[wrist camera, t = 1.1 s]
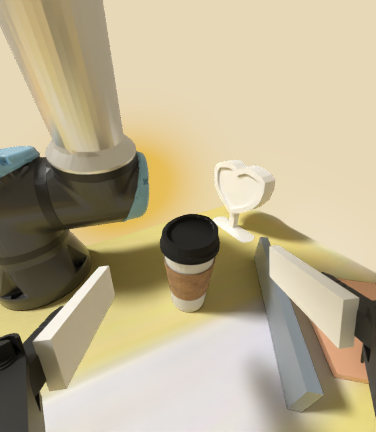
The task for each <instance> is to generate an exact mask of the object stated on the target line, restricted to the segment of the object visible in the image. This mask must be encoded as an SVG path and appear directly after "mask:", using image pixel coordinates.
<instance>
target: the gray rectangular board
mask: <svg viewBox="0 0 376 432" xmlns="http://www.w3.org/2000/svg"><path fill="white" fill-rule="evenodd" d="M269 246H271V245H270V243H269V240H268V238H266V237H260V239H259V243H258V246H257V250H256V253H255V257H254V259H255V264H256V268H257V273H258V278H259V282H260V287H261V291H262V296H263V300H264V305H265V310H266V314H267V319H268V323H269V328H270V332H271V337H272V342H273V346H274V351H275V355H276V360H277V365H278V369H279V374H280V378H281V383H282V387H283V392H284V397H285V401H286V406H287V409H289V410H293V411H298V412H303V411H304V410H305V409H306V408H308V407H309V406H310V405H312V404H313V403H314V402H316V401H317V400H318V399H320V398H321V397H322V396H323V395H324V394H323V391H322V388H321V385H320V382H319V380H318V377H317V374H316V371H315V368H314V366H313V363H312V360H311V357H310V354H309V352H308V349H307V346H306V343H305V340H304V338H303V335H302V332H301V329H300V327H299V324H298V321H297V318H296V315H295V313H294V310H293V307H292V304H291V301H290V299H289V296H288V295H287V294H286V293H285V292H284V291H283V290H282V289H281V288H280V287H279V286H278V285H277V284H276V283H275V282H274V281H273V279H272V278H271V277H270V265H269Z"/></svg>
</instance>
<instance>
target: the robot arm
mask: <svg viewBox="0 0 376 432" xmlns="http://www.w3.org/2000/svg"><path fill="white" fill-rule="evenodd" d="M0 27H1V29H2V31H3V33H4V35H5V38H6V40H7V42H8V44H9V46H10V48H11V51H12V53H13V55H14V57H15V59H16V61H17V63H18V66H19V68H20V70H21V72H22V74H23V77H24V79H25V81H26V83H27V85H28V87H29V90H30V91H31V94H32V96H33V98H34V100H35V103H36V105H37V107H38V109H39V111H40V113H41V116H42V118H43V120H44V122H45V124H46V127H47V129H48V131H49V133H50V135H51V137H52V141H51V142H50V144H49V145H48V147H47V148H46V151H45V155H46V157H43V158H42V157H40V153H39V152H38V151H37V150H36V149H35V148H34V147H31V146H27V147H26V146H19V147H11V148H4V149H0V304H1V305H2V306H4V307H5V308H8V309H11V310H29V309H34V308H38V307H41V306H44V305H47V304H49V303H51V302H54V301H56V300H58V299H59V298H61V297H63V296H65V295H66V294H68V293H69V292H70V291H72V290H73V289H74V288H75V287H77V286H78V285H79V284H80V283H81V282H82V281H83V279H84V278H85V277H86V276H87V274H88V272H89V270H90V268H91V263H92V261H91V257H90V254H89V251H88V249H87V248H86V247H85V245H84V244H82V243H81V242H80V241H79V240H78V239H77V238H76V237H75V236H74V235H73V234H72V233H71V232H70V230H69V229H73V228H80V227H87V226H94V225H101V224H108V223H115V222H124V221H127V220H130V219H134V218H138V217H141V216H143V215H144V214H145V212H146V210H147V207H148V200H149V184H148V168H147V162H146V158H145V156H144V155H143V153H140V152H137V151H136V147H135V144H134V143H133V141H132V140H131V139H130V138H128V137H127V136H126V135H124V134H123V130H122V124H121V117H120V110H119V104H118V97H117V91H116V85H115V78H114V71H113V65H112V58H111V52H110V45H109V39H108V32H107V26H106V19H105V13H104V7H103V0H0ZM269 265H270V277H271V278H272V279H273V281H274V282H275V283H276V284H277V285H278V286H279V287H280V288H281V289H282V290H283V291H284V292H285V293H286V294H287V295H288V296H289V297H290V298H291V299H292V300H293V302H294V303H295V304H296V305H297V306H298V307H299V308H300V309H301V310H302V311H303V312H304V313H305V314H306V315H307V316H308V317H309V318H310V319H311V320H312V321H313V323H314V324H315V325H316V326H317V327H318V328H319V329H320V330H321V331H322V332H323V333H324V334H325V335H326V336H327V337H328V338H329V339H330V340H331V341H332V342H333V344H334V345H335V346H336V347H337V348H338V349H342V348H349V347H354V340H355V337H356V338H358V339H359V340H360V341H361V342H362V343H363V346H362V353H361V361H360V362H361V363H363V364H364V362H365V367H366V372H367V377H368V381H369V386H370V391H371V396H372V401H373V406H374V411H375V416H376V300H370V299H369V298H367V297H366V296H364V295H362V294H361V293H359V292H358V291H356V290H354V289H353V288H351V287H350V286H347V285H346V284H345V283H343V282H341V281H340V280H338V279H337V278H335V277H333V276H331V275H329V274H326V273H324V272H321V273H320V272H319V271H317V270H316V269H314V268H313V267H311V266H310V265H308V264H307V263H305V262H303V261H302V260H300V259H299V258H297V257H296V256H294V255H293V254H291V253H290V252H288V251H287V250H285V249H283V248H282V247H280V246H279V245H276V246H269ZM114 297H115V292H114V287H113V283H112V278H111V273H110V268H109V266H101V267H98V269H97V270H96V271H95V272H94V273H93V274H92V275H91V276H90V278H89V279H88V280H87V281H86V282H85V283H84V284H83V285H82V287H81V288H80V289H79V290H78V291H77V292H76V293H75V294H74V296H73V297H72V298H71V299H70V300H69V301H68V302H67V304H66V305H65V306H61V307H59V308H58V309H56V310H55V311H54V312H52V313H51V314H50V315H49V316H48V317H47V318H46V320H45V322H43V323H42V324H41V325H40V326H39V328H37V329H36V330H35V331H34V332H33V333H32V334H31V336H30V337H29V338H28V339H27V340H26V341H25V342H24V343H23V344H22V341H21V338H20V336H19V334H16V333H13V334H8V335H5V336H3V337H0V432H45V424H44V415H43V406H42V397H41V394H40V390H41V388H42V387H43V385H44V384H45V382H46V383H47V386H48V389H49V391H54V390H61V389H66V388H67V387H68V385H69V383H70V381H71V379H72V377H73V375H74V373H75V371H76V370H77V368H78V366H79V364H80V362H81V360H82V358H83V356H84V354H85V352H86V351H87V349H88V347H89V345H90V343H91V341H92V339H93V337H94V335H95V333H96V332H97V330H98V328H99V326H100V324H101V322H102V320H103V318H104V316H105V315H106V313H107V311H108V309H109V307H110V305H111V303H112V301H113V299H114Z"/></svg>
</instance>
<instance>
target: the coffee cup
mask: <svg viewBox="0 0 376 432" xmlns="http://www.w3.org/2000/svg"><path fill="white" fill-rule="evenodd" d="M219 244H220V241H219V237H218V227H217V225H216V223H215V222H214V221H213V220H212V219H210V218H209V217H207V216H203V215H198V214H187V215H183V216H180V217H177V218H175V219H173V220H172V221H170V222H169V223H168V224H167V225H166V226H165V227H164V229H163V231H162V236H161V239H160V248H161V251H162V253H163V254H164V263H165V267H166V272H167V277H168V282H169V287H170V291H171V297H172V301H173V303H174V305H175V306H176V308H178V309H179V310H181V311H184V312H193V311H196V310H198V309H199V308H200V307H201V306H202V305H203V303H204V300H205V296H206V292H207V289H208V285H209V281H210V278H211V274H212V270H213V267H214V263H215V256H216V255H217V253H218V251H219V247H220V246H219Z"/></svg>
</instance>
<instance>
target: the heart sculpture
mask: <svg viewBox="0 0 376 432" xmlns="http://www.w3.org/2000/svg"><path fill="white" fill-rule="evenodd" d="M214 183H215V187H216V190H217V193H218V195H219V197H220V199H221V201H222V202H223V204H224V205H225V207H226V208H227V210H228V211H229V213H230V217H229V219H227V218H226V217H216V218H214V219H213V221H214V222H215V223H216V224H217V225H218V226H219V227H221V228H222V229H224V230H225V231H226V232H228V233H229V234H231V235H232V236H233V237H235V238H236V239H238V240H239V241H240V242H250V241H252V240H253V239H254V235H252V234H251V233H249V232H248V231H246V230H245V229H243V228H242V227H240V226H238V225H237V223H238V218H239V213H243V212H247V211H250V210H253V209H255V208H257V207H260V206H262V205H263V204H264V203H265V202H267V201H268V200H269V199H270V197H271V195H272V192H273V190H274V186H275V179H274V177H273V175H272V174H271V173H269V172H268V171H266V170H265V169H264V168H262V167H260V166H256V165H255V166H249V167H247V166H246V165H245V163H243V162H242V161H239V160H232V161H226V162H220V163H218V164H217V165H216V166H215V171H214Z"/></svg>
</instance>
